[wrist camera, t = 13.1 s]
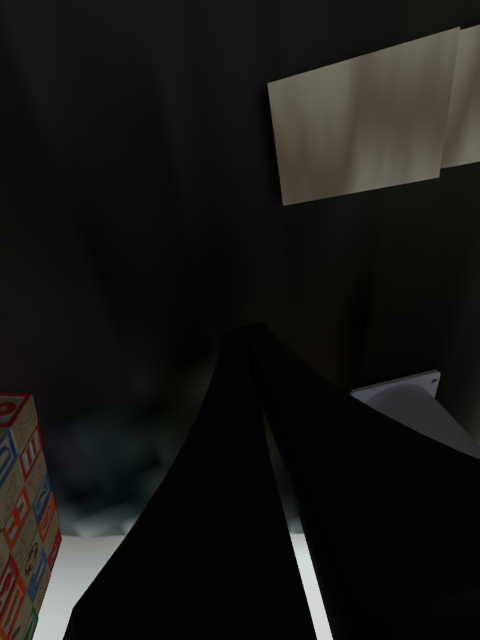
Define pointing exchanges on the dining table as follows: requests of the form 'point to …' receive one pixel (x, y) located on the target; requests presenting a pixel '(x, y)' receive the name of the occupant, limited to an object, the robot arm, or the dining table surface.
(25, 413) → the stack of blocks
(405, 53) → the domino
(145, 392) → the dining table surface
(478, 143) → the domino
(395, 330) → the dining table surface
